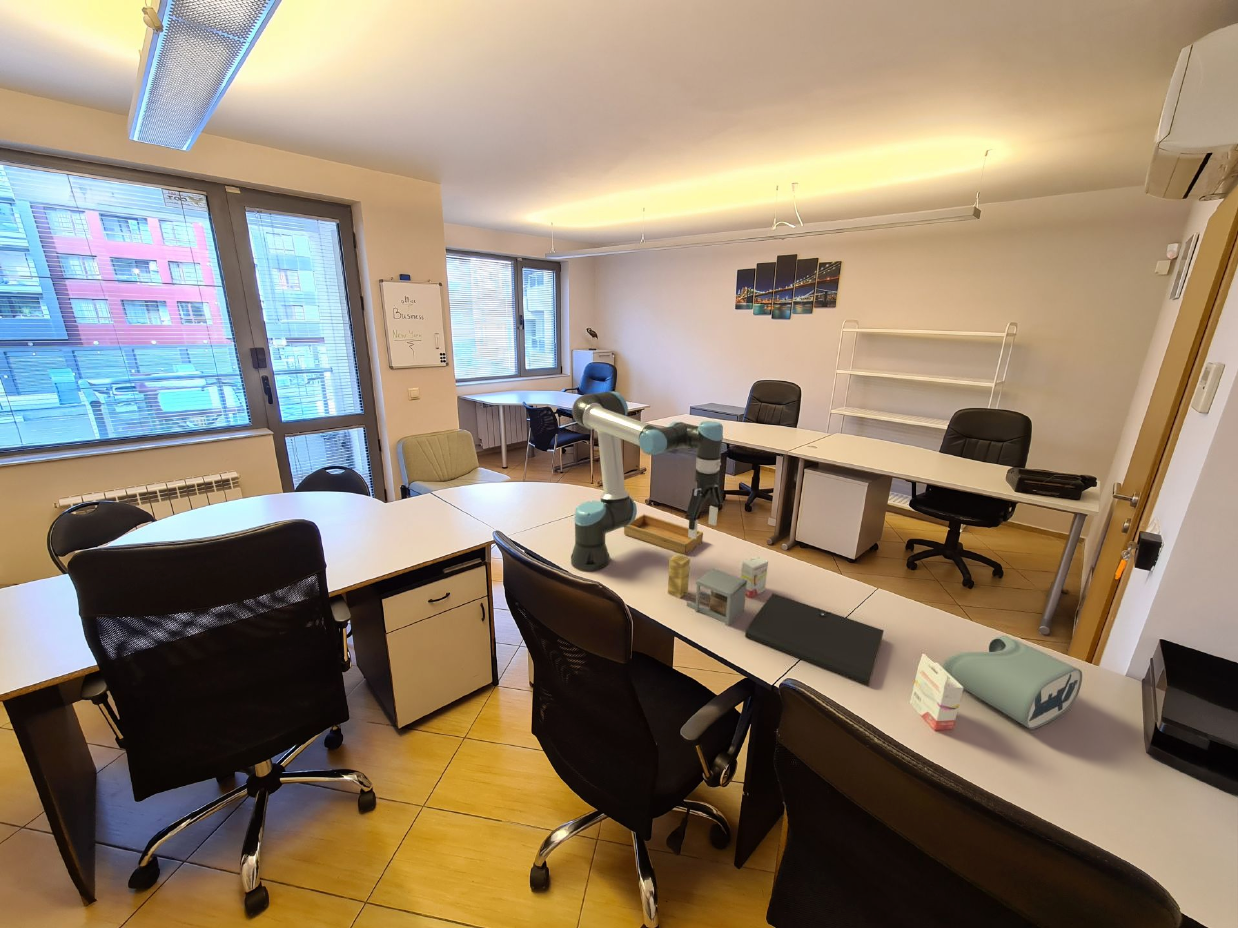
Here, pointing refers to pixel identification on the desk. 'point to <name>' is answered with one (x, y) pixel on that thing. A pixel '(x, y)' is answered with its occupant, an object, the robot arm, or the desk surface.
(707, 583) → the box
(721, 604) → the block
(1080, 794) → the desk surface
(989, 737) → the desk surface
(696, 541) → the tray
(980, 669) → the green hollow piece
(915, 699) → the ink cartridge box
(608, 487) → the robot arm
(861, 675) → the file folder
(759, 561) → the ink box
